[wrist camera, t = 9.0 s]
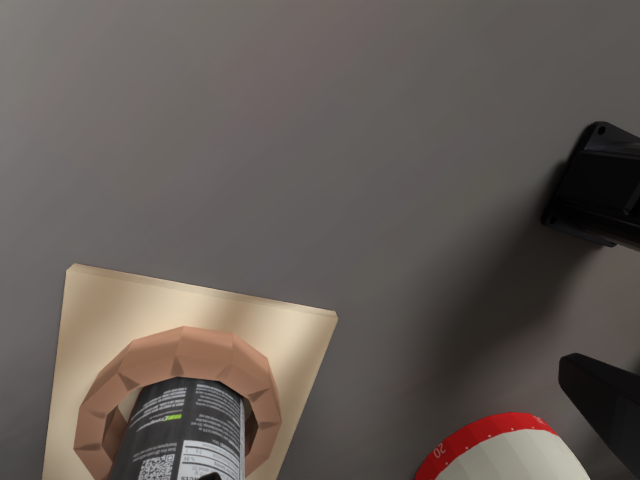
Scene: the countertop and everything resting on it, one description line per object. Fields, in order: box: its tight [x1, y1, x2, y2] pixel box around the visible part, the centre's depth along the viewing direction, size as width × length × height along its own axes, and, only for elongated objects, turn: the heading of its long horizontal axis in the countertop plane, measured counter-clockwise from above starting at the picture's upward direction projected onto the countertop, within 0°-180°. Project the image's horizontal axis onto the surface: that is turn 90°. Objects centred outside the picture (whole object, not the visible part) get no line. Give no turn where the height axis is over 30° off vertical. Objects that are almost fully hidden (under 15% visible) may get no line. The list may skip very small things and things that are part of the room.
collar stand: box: [42, 263, 338, 480], centre depth 19 cm, size 14×14×3 cm
